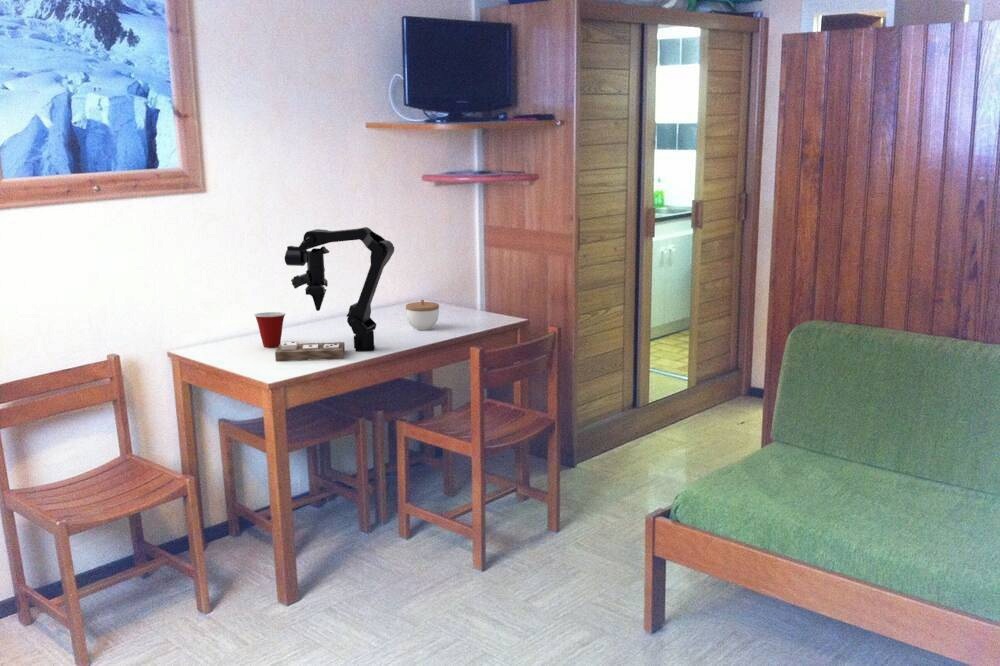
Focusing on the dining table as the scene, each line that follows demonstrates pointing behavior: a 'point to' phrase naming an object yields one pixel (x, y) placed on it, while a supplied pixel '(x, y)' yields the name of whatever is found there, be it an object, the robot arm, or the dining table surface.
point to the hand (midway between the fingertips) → (318, 310)
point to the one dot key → (311, 346)
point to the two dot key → (289, 346)
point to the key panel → (310, 352)
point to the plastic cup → (270, 328)
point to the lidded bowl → (422, 314)
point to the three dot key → (330, 346)
